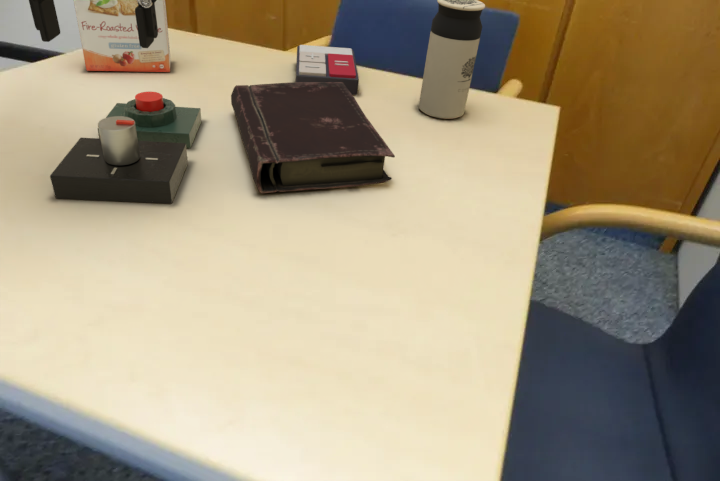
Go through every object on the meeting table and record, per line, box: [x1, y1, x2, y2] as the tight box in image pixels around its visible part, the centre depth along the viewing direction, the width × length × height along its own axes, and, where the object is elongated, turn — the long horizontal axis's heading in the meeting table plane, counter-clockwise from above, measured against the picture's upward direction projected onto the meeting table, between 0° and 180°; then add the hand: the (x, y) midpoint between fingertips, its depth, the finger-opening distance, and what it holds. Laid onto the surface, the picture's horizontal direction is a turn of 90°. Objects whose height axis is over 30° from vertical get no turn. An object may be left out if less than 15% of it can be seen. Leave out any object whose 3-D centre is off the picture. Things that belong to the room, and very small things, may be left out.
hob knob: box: [97, 116, 140, 166], centre depth 65 cm, size 4×4×5 cm
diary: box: [230, 81, 395, 194], centre depth 79 cm, size 19×25×5 cm
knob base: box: [49, 137, 189, 205], centre depth 67 cm, size 13×10×3 cm
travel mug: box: [418, 0, 486, 120], centre depth 91 cm, size 8×8×18 cm
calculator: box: [295, 44, 360, 96], centre depth 103 cm, size 11×4×15 cm
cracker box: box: [73, 0, 172, 73], centre depth 94 cm, size 14×6×21 cm, turn 104°
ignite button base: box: [97, 97, 202, 149], centre depth 79 cm, size 12×9×4 cm
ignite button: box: [134, 91, 164, 112], centre depth 77 cm, size 4×4×2 cm
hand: (100, 41), depth 58 cm, fingers open, 9 cm apart
